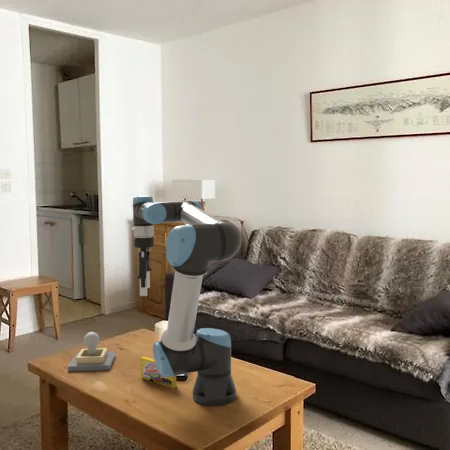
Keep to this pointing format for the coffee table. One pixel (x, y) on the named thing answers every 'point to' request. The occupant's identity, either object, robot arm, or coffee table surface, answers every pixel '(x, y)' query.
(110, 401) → the coffee table surface
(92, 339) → the lightbulb
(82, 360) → the lamp base
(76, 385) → the coffee table surface
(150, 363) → the candy box
